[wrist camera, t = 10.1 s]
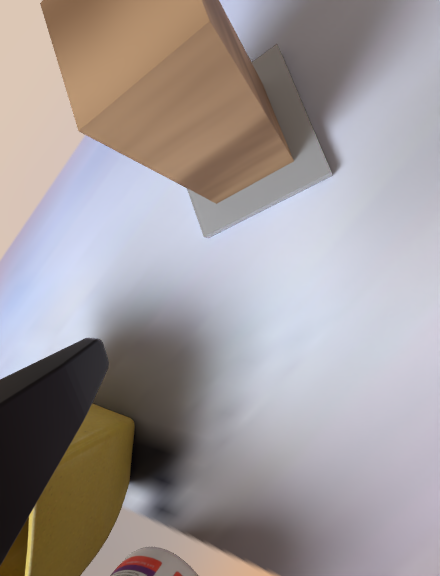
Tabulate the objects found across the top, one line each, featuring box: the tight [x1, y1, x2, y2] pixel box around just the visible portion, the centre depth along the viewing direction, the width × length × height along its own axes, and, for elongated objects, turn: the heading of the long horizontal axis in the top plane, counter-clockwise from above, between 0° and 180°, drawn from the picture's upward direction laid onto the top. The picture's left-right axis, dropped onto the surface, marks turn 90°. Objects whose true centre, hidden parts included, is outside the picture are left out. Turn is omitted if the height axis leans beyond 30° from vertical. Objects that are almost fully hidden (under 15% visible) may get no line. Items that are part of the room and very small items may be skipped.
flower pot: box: [0, 404, 135, 576], centre depth 20 cm, size 9×9×9 cm
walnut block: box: [40, 0, 294, 204], centre depth 14 cm, size 5×5×10 cm
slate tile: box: [187, 44, 333, 238], centre depth 19 cm, size 8×8×1 cm
